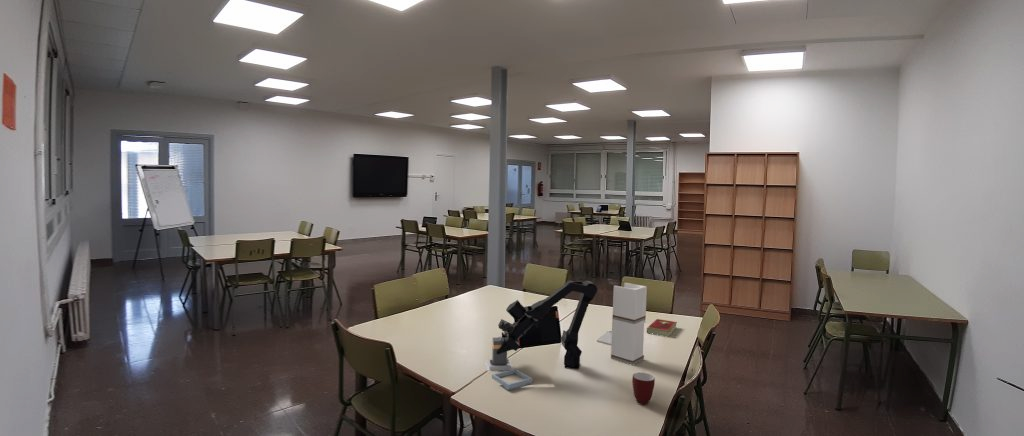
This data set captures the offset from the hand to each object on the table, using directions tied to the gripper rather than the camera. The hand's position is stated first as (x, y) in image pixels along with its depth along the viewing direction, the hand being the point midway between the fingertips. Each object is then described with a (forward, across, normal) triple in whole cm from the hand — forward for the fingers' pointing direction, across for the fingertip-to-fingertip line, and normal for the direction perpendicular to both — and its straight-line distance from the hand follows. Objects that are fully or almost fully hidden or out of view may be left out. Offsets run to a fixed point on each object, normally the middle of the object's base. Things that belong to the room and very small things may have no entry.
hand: (496, 351), depth 209 cm
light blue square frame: (+2, +15, +9) cm, 18 cm away
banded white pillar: (-39, -7, +50) cm, 64 cm away
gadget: (-43, -35, +55) cm, 78 cm away
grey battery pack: (+4, 0, +6) cm, 7 cm away
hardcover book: (-65, -50, +77) cm, 112 cm away
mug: (-32, +36, +43) cm, 64 cm away
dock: (+4, 0, +6) cm, 8 cm away
